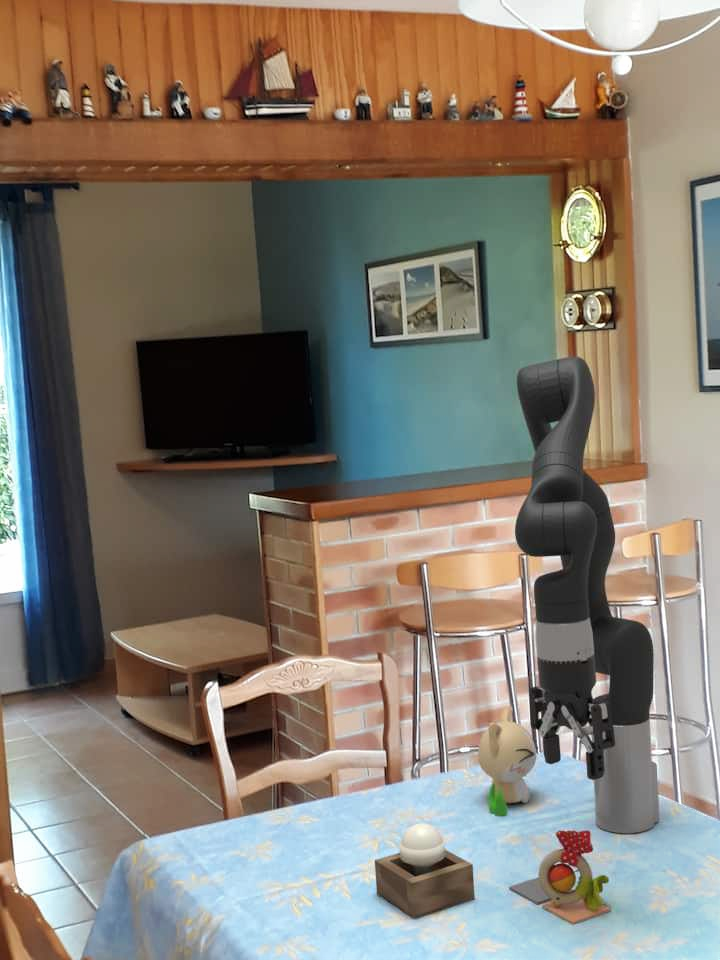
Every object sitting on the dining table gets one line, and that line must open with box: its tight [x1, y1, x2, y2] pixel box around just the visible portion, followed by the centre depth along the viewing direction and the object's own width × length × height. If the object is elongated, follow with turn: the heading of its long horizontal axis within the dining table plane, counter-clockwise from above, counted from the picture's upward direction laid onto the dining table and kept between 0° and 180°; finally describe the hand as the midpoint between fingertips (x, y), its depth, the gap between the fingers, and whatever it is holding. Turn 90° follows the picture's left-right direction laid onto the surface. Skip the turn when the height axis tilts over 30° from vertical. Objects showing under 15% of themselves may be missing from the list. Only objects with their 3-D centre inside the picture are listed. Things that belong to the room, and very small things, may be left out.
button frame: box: [374, 849, 476, 920], centre depth 168 cm, size 10×10×5 cm
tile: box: [541, 899, 612, 925], centre depth 162 cm, size 6×6×1 cm
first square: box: [508, 876, 574, 905], centre depth 168 cm, size 6×6×1 cm
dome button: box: [398, 822, 446, 877], centre depth 168 cm, size 6×6×7 cm
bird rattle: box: [537, 829, 610, 911], centre depth 161 cm, size 6×11×9 cm
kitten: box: [477, 706, 539, 816], centre depth 204 cm, size 15×10×15 cm
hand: (574, 770), depth 160 cm, fingers open, 8 cm apart
